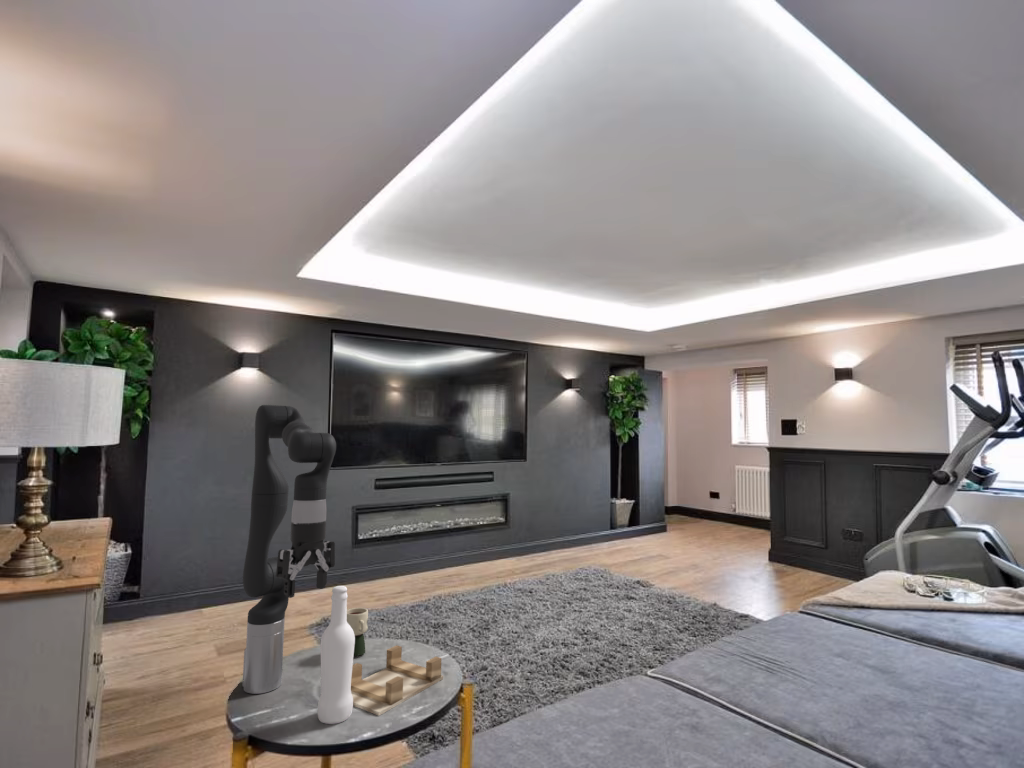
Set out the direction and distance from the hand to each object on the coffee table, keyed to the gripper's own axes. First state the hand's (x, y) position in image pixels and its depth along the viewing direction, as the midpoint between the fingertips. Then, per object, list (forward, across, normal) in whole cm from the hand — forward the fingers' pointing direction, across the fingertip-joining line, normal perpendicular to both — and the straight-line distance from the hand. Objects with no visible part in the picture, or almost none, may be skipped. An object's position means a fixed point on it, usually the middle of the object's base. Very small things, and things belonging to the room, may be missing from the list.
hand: (305, 592), depth 121 cm
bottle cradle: (+31, -29, 0) cm, 43 cm away
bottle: (+32, -11, -1) cm, 33 cm away
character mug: (+31, -40, -24) cm, 57 cm away
